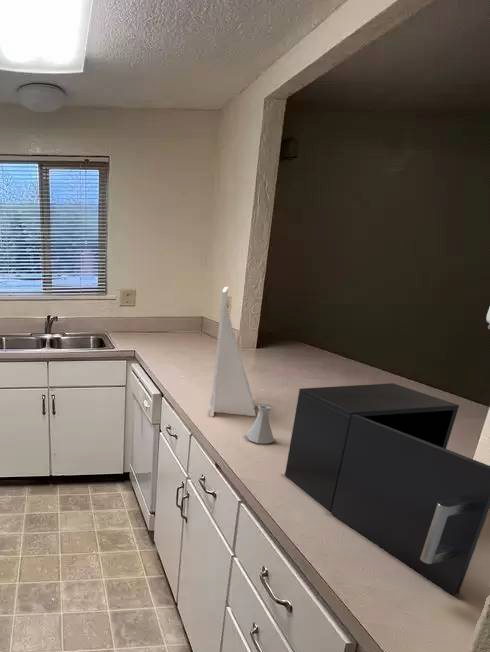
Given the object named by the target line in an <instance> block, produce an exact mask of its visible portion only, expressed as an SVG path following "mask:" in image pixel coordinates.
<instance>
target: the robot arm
mask: <svg viewBox="0 0 490 652" xmlns="http://www.w3.org/2000/svg"><path fill="white" fill-rule="evenodd" d="M485 321H486V323H488V326H487V329H488V330H490V306H489V308H488V309H487V313H486V319H485Z"/></svg>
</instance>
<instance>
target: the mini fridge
mask: <svg viewBox="0 0 490 652" xmlns="http://www.w3.org/2000/svg"><path fill="white" fill-rule="evenodd" d="M298 389H299V390H298V396H297V401H296V408H295V413H294V420H293V426H292V432H291V437H290V441H289V442H290V443H289V447H288V448H289V449H288V453H287V454H288V455H287V460H286V465H285V472H284V476H285V477H286V478H287V479H289V480H290V481H291V482H292V483H293V484H294V485H296V486H297V487H299V488H300V489H301V490H302V491H303V492H305V493H306V494H308V496H310V497H311V498H312V499H313V500H315V501H316V502H317V503H319V504H320V505H321V506H322V507H323V508H325V509H326V510H327V511H328V512H330V513H331V510H332V506H333V501H334V497H335V492H336V487H337V483H338V478H339V474H340V469H341V465H342V460H343V455H344V451H345V446H346V442H347V437H348V433H349V428H350V424H351V419H352V415H356V414H357V415H359V416H362V417H364V418H367V419H370V420H372V421H375V422H377V423H380V424H383V425H385V426H388V427H390V428H393V429H396V430H398V431H401V432H403V433H406V434H408V435H411V436H414V437H416V438H419V439H421V440H424V441H427V442H429V443H432V444H434V445H437V446H440V447H442V448H445V449H447V446H448V444H449V440H450V437H451V434H452V431H453V427H454V424H455V421H456V417H457V414H458V411H459V408H460V404H456V403H454V402H451V401H448V400H445V399H443V398H439V397H436V396H433V395H430V394H427V393H424V392H421V391H418V390H415V389H412V388H410V387H406V386H403V385H400V384H397V383H394V382H392V383H391V382H390V383H375V384H374V383H373V384H358V385H342V386H341V385H339V386H322V387H321V386H320V387H319V386H318V387H305V388H303V387H302V388H298Z"/></svg>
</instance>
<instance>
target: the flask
mask: <svg viewBox="0 0 490 652" xmlns="http://www.w3.org/2000/svg"><path fill="white" fill-rule="evenodd" d="M257 408H258V411H257V415H256V419H255V420H254V422H253V424H252V426H251V427H250V429H249V431H248V432H247V434H246V438H247V439H248V440H249V441H250V442H253V443H256V444H265V445H266V444H271V443H273V442H275V439H274V436H273V435H274V434H273V431H272V428H271V423H270V411H271V409H272V407H271V406H269V405H265V404H261V405H258V406H257Z"/></svg>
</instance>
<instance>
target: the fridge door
mask: <svg viewBox="0 0 490 652" xmlns="http://www.w3.org/2000/svg"><path fill="white" fill-rule="evenodd" d="M489 511H490V465H489V464H486V463H484V462H482V461H478V460H475V459H473V458H471V457H468V456H467V455H466V456H465V455H463V454H460V453H459V452H455V451H452V450H449V449H448V448H446V449H445V448H442V447H440V446H437V445H434V444H432V443H429V442H427V441H424V440H421V439H419V438H416V437H414V436H411V435H408V434H406V433H403V432H401V431H398V430H396V429H393V428H390V427H388V426H385V425H383V424H380V423H377V422H375V421H372V420H370V419H367V418H364V417H362V416H359V415H357V414H356V415H352V419H351V424H350V428H349V433H348V437H347V442H346V446H345V451H344V455H343V460H342V465H341V469H340V474H339V478H338V483H337V487H336V492H335V497H334V501H333V506H332V510H331V512H330V514H331V515H332V516H334V517H335V518H337V519H338V520H340V521H341V522H343V523H344V524H346V525H347V526H349V527H350V528H352V529H353V530H355V531H356V532H358V533H359V534H361V535H362V536H364V537H365V538H366V539H368V540H369V541H371V542H373V543H374V544H376V545H377V546H379V547H380V548H381V549H383V550H385V551H386V552H388V553H389V554H391V555H392V556H394V557H395V558H397V559H398V560H400V561H401V562H402V563H403V564H406V565H407V566H409V567H410V568H412V569H413V570H414V571H416V572H418V573H419V574H420V575H422V576H423V577H425V578H426V579H428V580H430V581H431V582H433V583H434V584H435V585H437V586H439V587H440V588H441V589H443V590H444V591H446V592H448V593H449V594H451V595H452V596H458V595H459V594H460V592H461V589H462V586H463V583H464V580H465V577H466V574H467V572H468V570H469V566H470V563H471V562H472V559H473V555H474V552H475V551H476V547H477V544H478V542H479V539H480V536H481V533H482V531H483V528H484V525H485V522H486V519H487V517H488V514H489Z"/></svg>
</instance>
